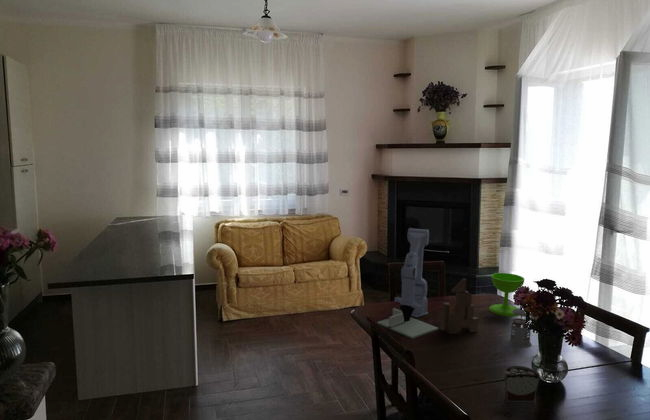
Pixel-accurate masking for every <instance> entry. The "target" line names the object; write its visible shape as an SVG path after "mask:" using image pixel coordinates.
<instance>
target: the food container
mask: <svg viewBox="0 0 650 420" xmlns="http://www.w3.org/2000/svg"><path fill="white" fill-rule="evenodd" d="M502 379H503V380H504V389H505V401H506V402H507V403H508V402H509V403H510V402H512V403H513V402H514V403H515V402H517V403H518V402H519V403H520V402H522V403H523V402H524V403H525V402H526V403H527V402H529V403H532V402H533V403H534V402H535V401H536V396H537V390H538V385H539V380H541V379H542V377H541V375H540V372H538V371H537V370H535V369H532V368H531V367H526V366H522V365H511V366H508V367H506V368H504V371H503V373H502Z"/></svg>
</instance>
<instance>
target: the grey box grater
mask: <svg viewBox="0 0 650 420" xmlns="http://www.w3.org/2000/svg"><path fill="white" fill-rule="evenodd" d="M516 308H517V309H514V310H513V311H512V312H513V313H514V314H515V315H518V316H519V317H520V318H513V319H512V322H511V325H510V326H511V327H510V338H509V339H508V340H507V342H508V343H509V344H510V345H512V346H515V347H517V348H525V349H526V348H531V347H532V346H533V344H531V343H532V342H531V333H532V331H531V330H532V329H531V330H528V331H527V328H529V327H528V325H530V324H531V322H530V321H529V322H528V323H527V324H525V320H526V318H527V317H526V313H525V311H524V310H520V308H521V307H520V308H519V307H516ZM518 316H517V317H518ZM523 317H524V318H523ZM529 323H530V324H529Z"/></svg>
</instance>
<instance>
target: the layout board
mask: <svg viewBox="0 0 650 420" xmlns="http://www.w3.org/2000/svg"><path fill="white" fill-rule="evenodd" d="M376 324H377V325H380V326H382V327H384V328H386V329H389V330H391V331H392V332H393V331H394V332H396V333H398V334H399V335H403V336H404V337H407V338H409V339H411V340H413V339H415V338H418V337H422V336H424V335H427V334H430V333H432V332H436V331H438V330H439V327H437V326H434V325H432V324H429V323H426V322H425V321H421V320H420V319H416V318H415V317H413V316H411V317H410V321H407V322H406V321H405V323H401V324H398V325H395V326H393V327H390V326H389V317H388V318H385V319H382V320H379V321H377V322H376Z"/></svg>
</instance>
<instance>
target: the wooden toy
mask: <svg viewBox="0 0 650 420" xmlns="http://www.w3.org/2000/svg"><path fill="white" fill-rule="evenodd" d="M450 292H451V293H452V294H455V302H454V303H455V306H454V308H453V309H452V310H451V311H450V307H451V306H450V302H446V301H445V302H442V306H441V307H442V308H441V309H442V310H441V323H440V324H441V326H440V328H441V329H440V330H442V331H443V332H447V333H449V334H450V335H454V334H458V333H459V330H460V329H461V328H462V327H463V328H464V329H465V330H467V331H468V332H470V333H477V332H478V328H479V326H478V325H479V318H478V317H476V316H475V313H474V312H475V311H474V310H475V305H474V304H472V301H473V297H472V294H471V293H470V292H469V291H467V279H466V278H465V277H462V279H461V280H460V281H459V282H458V283H457V284H456V285H455V286H454V287H453V288H452V289H451V290H450Z"/></svg>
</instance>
